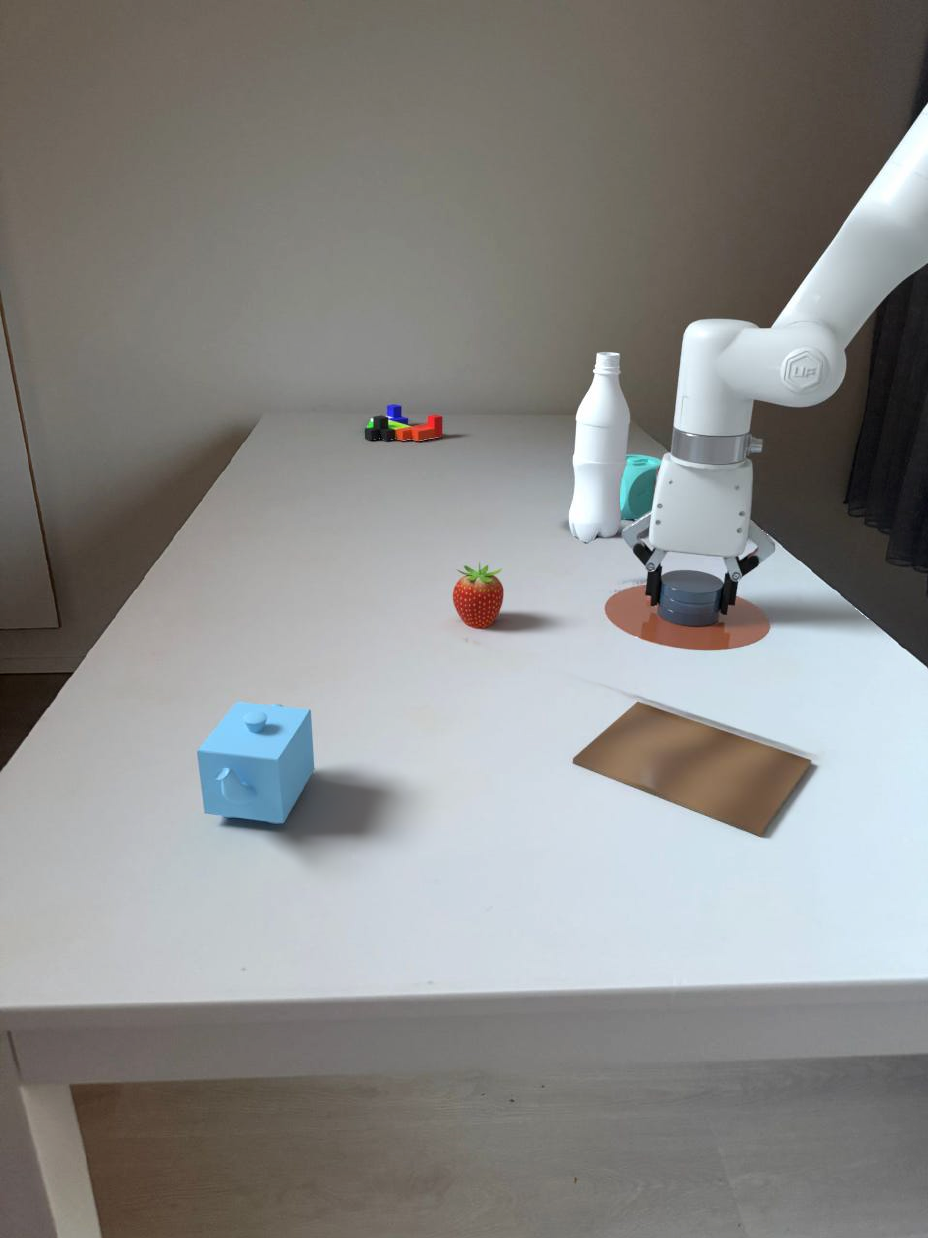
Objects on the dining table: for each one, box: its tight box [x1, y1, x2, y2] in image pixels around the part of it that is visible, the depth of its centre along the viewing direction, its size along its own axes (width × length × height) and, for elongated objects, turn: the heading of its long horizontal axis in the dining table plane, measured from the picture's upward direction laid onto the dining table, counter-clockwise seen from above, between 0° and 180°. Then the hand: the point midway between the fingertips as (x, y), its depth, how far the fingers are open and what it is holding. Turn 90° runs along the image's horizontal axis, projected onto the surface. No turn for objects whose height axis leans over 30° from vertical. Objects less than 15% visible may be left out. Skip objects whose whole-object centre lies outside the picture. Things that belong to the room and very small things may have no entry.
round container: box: [657, 569, 724, 626], centre depth 100 cm, size 7×7×4 cm
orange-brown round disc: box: [604, 584, 771, 651], centre depth 101 cm, size 18×18×1 cm
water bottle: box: [568, 351, 631, 544], centre depth 122 cm, size 7×7×25 cm
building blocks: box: [364, 403, 443, 441], centre depth 180 cm, size 15×13×4 cm
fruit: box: [452, 562, 504, 629], centre depth 97 cm, size 5×5×8 cm
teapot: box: [196, 701, 315, 825], centre depth 67 cm, size 12×6×8 cm, turn 170°
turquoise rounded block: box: [620, 454, 662, 520], centre depth 136 cm, size 8×8×8 cm
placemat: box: [572, 701, 812, 838], centre depth 75 cm, size 16×12×1 cm
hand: (689, 604), depth 100 cm, fingers closed on round container, 6 cm apart
